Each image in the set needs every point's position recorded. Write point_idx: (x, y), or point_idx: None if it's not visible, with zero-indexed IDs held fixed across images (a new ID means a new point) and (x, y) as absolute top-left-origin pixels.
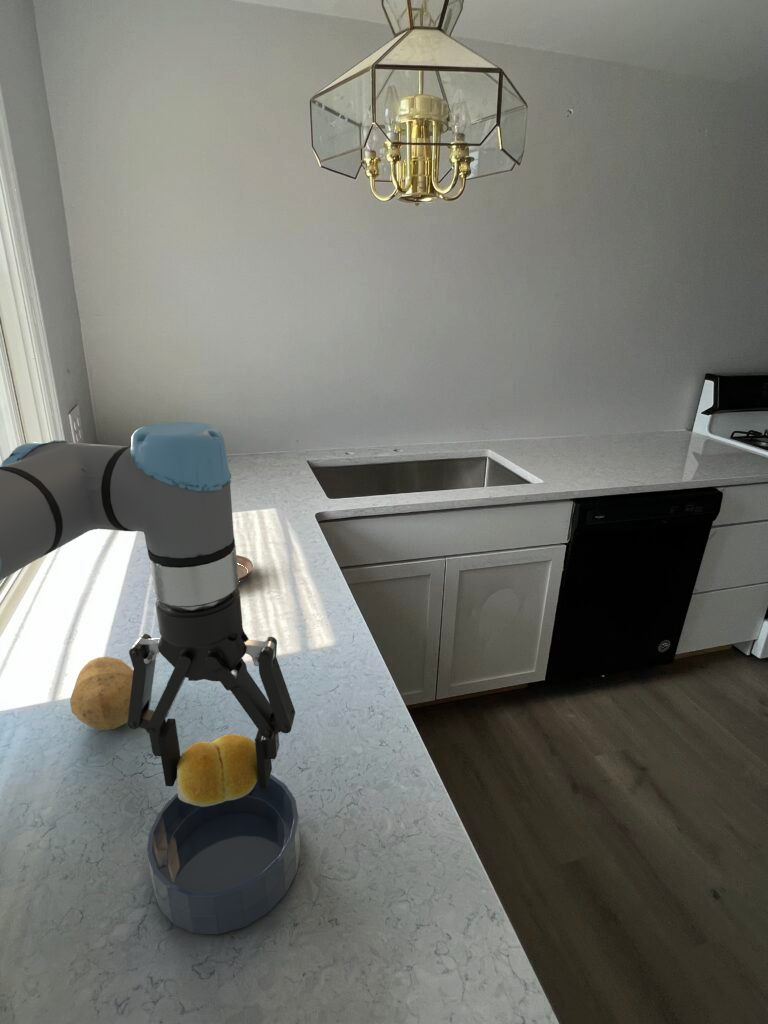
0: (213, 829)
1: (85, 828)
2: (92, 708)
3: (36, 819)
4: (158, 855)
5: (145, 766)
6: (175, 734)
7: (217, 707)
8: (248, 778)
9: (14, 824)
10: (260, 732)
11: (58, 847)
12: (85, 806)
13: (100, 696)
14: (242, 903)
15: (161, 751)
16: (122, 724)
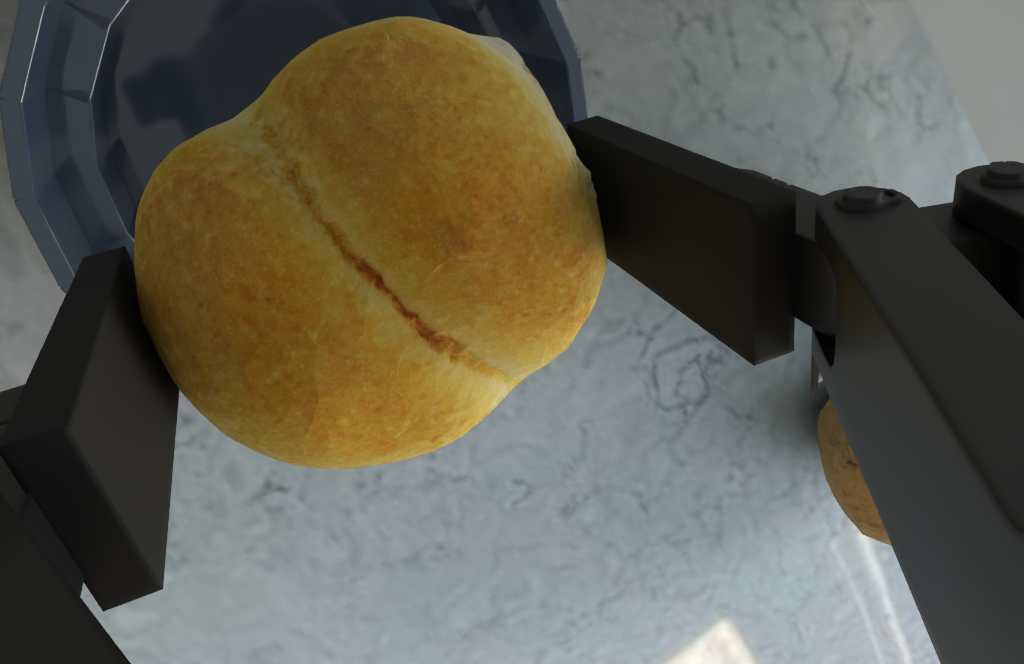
0: None
1: (762, 108)
2: None
3: (886, 95)
4: (518, 37)
5: None
6: (693, 301)
7: (620, 551)
8: (152, 238)
9: (926, 66)
10: (80, 502)
11: (798, 36)
12: (793, 167)
13: None
14: None
15: (713, 164)
16: (830, 400)
